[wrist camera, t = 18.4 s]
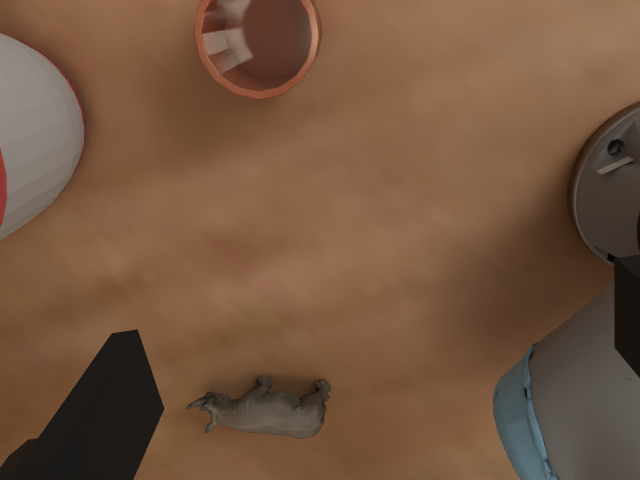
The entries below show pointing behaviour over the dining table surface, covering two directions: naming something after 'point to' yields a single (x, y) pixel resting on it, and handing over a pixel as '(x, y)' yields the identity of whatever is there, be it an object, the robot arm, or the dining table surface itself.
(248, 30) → the terracotta cup
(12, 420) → the dining table surface
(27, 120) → the citrus juicer
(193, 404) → the rhino figurine
